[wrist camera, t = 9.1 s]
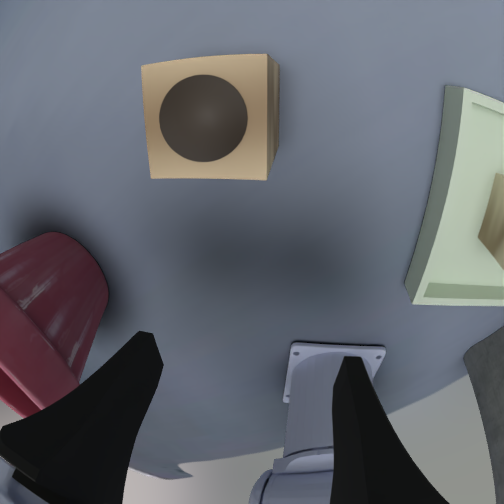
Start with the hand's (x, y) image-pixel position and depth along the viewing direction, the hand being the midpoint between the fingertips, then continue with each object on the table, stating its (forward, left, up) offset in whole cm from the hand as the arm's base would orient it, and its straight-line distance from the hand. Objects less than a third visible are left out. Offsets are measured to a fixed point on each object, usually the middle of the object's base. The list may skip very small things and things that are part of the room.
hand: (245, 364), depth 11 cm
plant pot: (-5, +18, -10) cm, 21 cm away
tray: (+4, -16, -9) cm, 19 cm away
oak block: (+8, +2, -10) cm, 13 cm away
